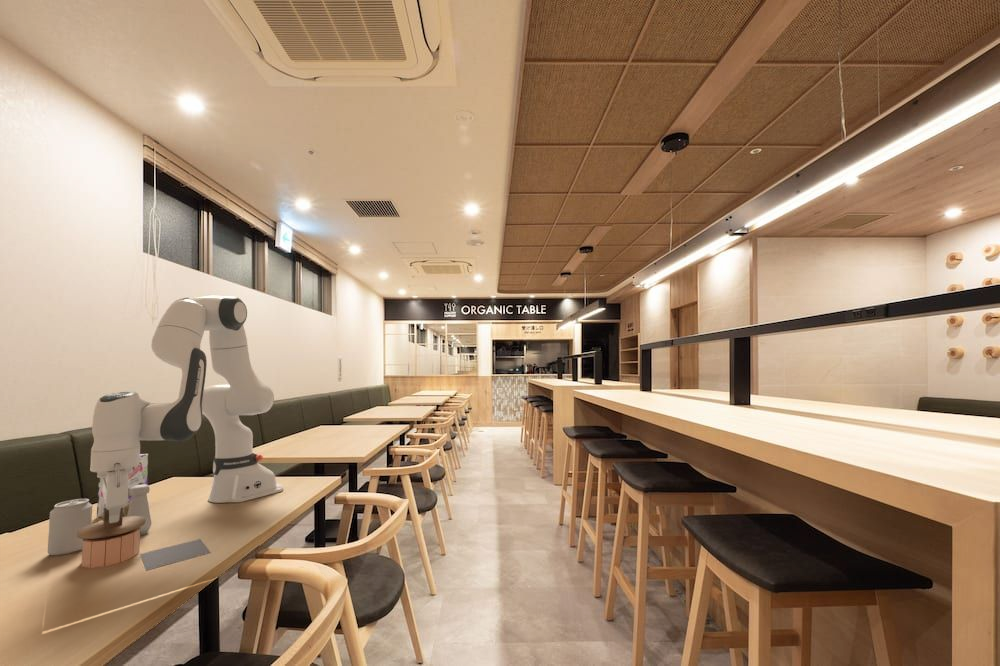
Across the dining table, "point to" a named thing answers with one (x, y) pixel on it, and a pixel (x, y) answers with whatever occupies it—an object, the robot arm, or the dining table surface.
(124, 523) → the lid
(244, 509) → the dining table surface
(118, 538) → the bowl
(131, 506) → the salt shaker
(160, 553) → the mat
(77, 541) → the can
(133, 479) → the candy box
